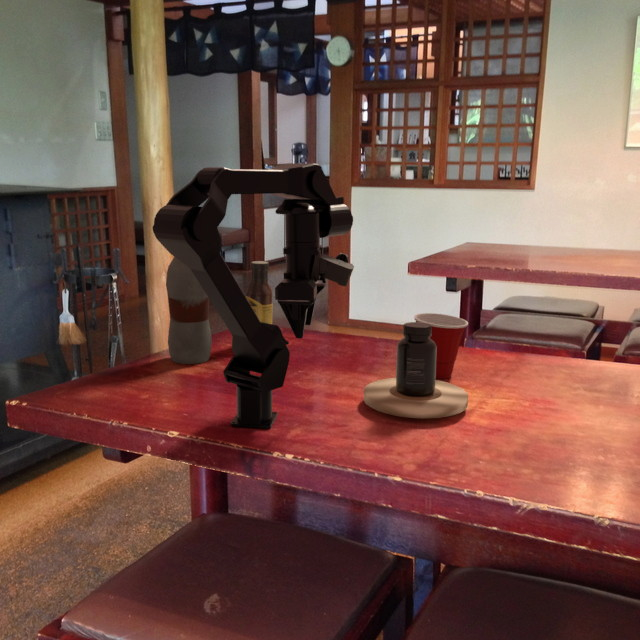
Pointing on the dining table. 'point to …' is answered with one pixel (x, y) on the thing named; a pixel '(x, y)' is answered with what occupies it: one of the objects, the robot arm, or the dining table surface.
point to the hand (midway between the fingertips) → (303, 331)
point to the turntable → (416, 400)
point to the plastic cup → (444, 339)
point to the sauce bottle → (260, 292)
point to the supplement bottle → (416, 361)
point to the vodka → (187, 316)
